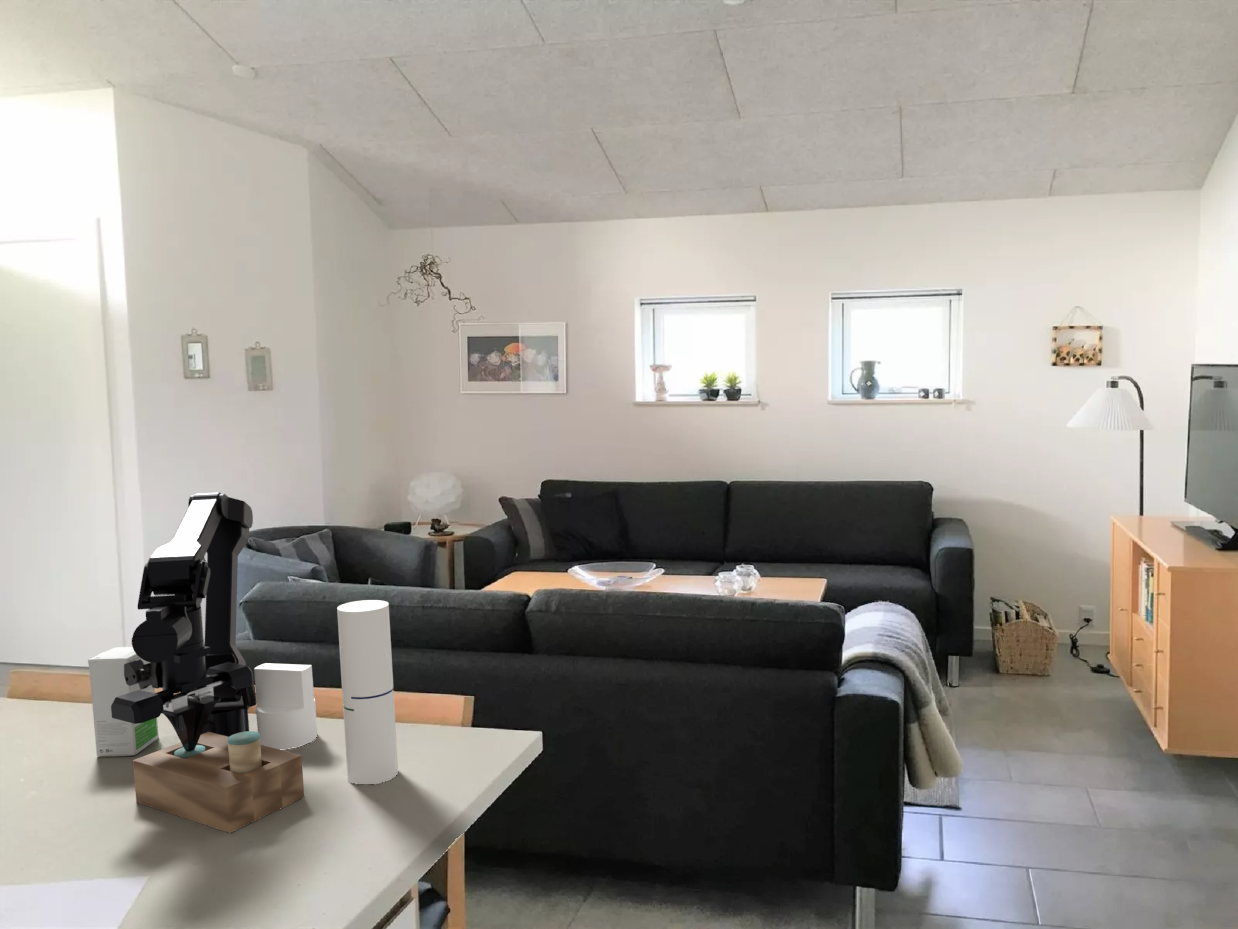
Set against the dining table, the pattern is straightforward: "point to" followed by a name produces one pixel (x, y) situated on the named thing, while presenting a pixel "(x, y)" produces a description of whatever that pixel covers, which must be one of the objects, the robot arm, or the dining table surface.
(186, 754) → the peg
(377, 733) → the cylindrical container
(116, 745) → the skincare box
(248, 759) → the peg
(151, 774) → the socket block
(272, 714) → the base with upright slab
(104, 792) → the dining table surface
